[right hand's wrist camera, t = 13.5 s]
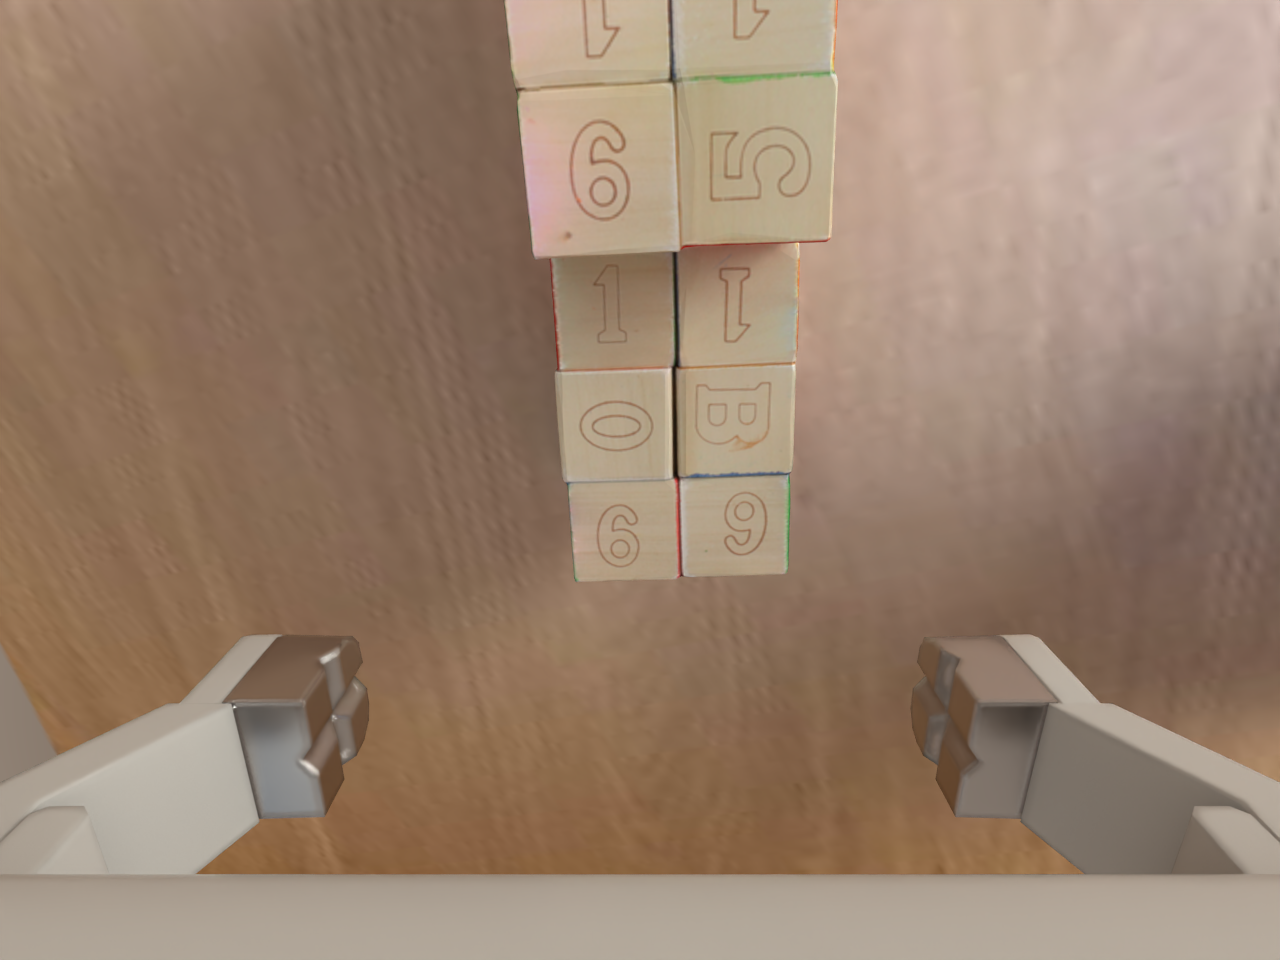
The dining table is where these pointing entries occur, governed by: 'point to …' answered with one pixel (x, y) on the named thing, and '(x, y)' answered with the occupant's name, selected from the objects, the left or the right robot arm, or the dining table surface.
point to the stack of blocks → (676, 264)
